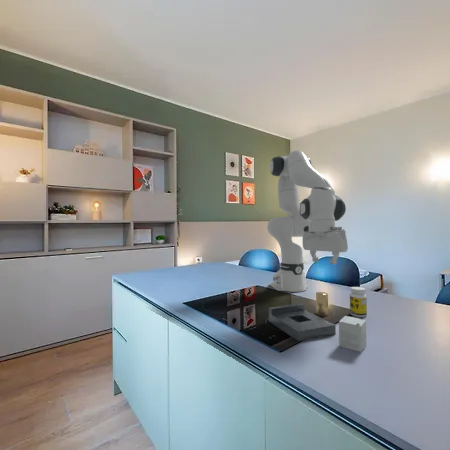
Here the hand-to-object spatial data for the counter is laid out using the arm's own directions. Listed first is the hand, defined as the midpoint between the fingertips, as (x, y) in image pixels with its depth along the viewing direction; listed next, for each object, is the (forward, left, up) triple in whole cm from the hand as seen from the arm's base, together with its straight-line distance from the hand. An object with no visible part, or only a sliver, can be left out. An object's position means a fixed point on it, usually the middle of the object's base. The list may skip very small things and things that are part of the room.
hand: (324, 262), depth 104 cm
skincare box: (+25, -11, -20) cm, 34 cm away
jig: (+8, -17, -20) cm, 27 cm away
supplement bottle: (+6, +11, -20) cm, 24 cm away
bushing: (0, -1, -20) cm, 20 cm away
